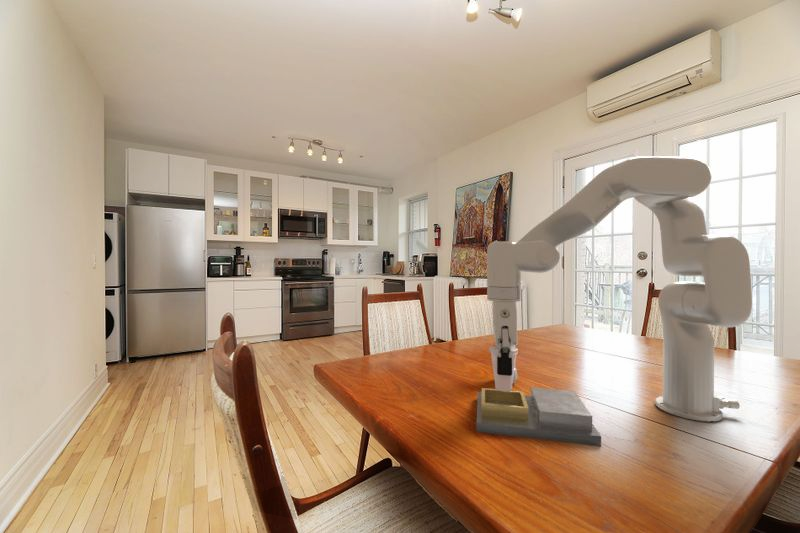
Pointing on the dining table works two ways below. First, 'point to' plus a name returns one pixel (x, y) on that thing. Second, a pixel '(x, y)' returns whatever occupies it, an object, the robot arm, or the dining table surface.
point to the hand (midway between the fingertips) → (503, 369)
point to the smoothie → (503, 381)
